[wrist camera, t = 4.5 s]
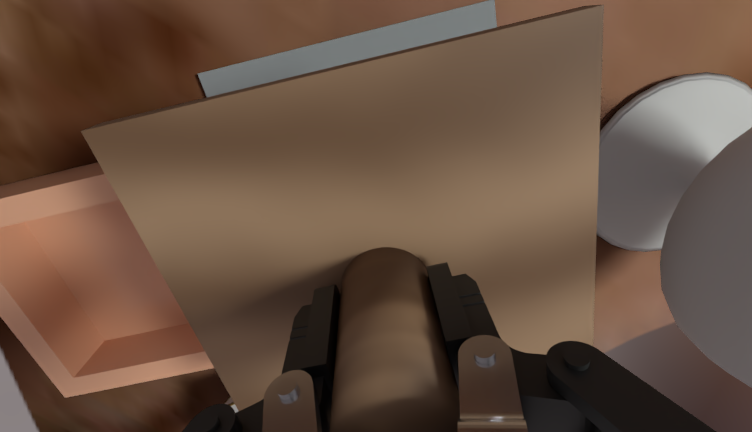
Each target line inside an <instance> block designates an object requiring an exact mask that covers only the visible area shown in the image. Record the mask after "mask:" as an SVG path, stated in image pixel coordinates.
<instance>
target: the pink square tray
mask: <svg viewBox="0 0 752 432" xmlns="http://www.w3.org/2000/svg"><path fill="white" fill-rule="evenodd" d="M0 317H1V318H2V319H3V321H4V322H5V323H6V324H7V326H8V327H9V328H10V329H11V331H12V332H13V333H14V334H15V336H16V337H17V338H18V339H19V341H20V342H21V343H22V344H23V346H24V347H25V348H26V349H27V351H28V352H29V353H30V354H31V356H32V357H33V358H34V359H35V361H36V362H37V363H38V365H39V366H40V367H41V368H42V370H43V371H44V372H45V373H46V375H47V376H48V377H49V378H50V380H51V381H52V382H53V383H54V385H55V386H56V387H57V388H58V390H59V391H60V392H61V393H62V395H63V396H64V397H65V398H66V397H71V396H76V395H81V394H86V393H91V392H96V391H101V390H106V389H111V388H116V387H121V386H126V385H131V384H136V383H141V382H146V381H151V380H156V379H161V378H166V377H171V376H176V375H181V374H186V373H191V372H196V371H201V370H206V369H211V368H214V366H213V365H212V363H211V361H210V359H209V358H208V356H207V354H206V352H205V351H204V349H203V347H202V345H201V343H200V342H199V340H198V338H197V336H196V335H195V333H194V331H193V329H192V327H191V326H190V324H189V322H188V320H187V319H186V317H185V315H184V313H183V312H182V310H181V308H180V306H179V304H178V303H177V301H176V299H175V297H174V296H173V294H172V292H171V290H170V288H169V287H168V285H167V283H166V281H165V280H164V278H163V276H162V274H161V273H160V271H159V269H158V267H157V265H156V264H155V262H154V260H153V258H152V257H151V255H150V253H149V251H148V249H147V248H146V246H145V244H144V242H143V241H142V239H141V237H140V235H139V234H138V232H137V230H136V228H135V226H134V225H133V223H132V221H131V219H130V218H129V216H128V214H127V212H126V210H125V209H124V207H123V205H122V203H121V202H120V200H119V198H118V196H117V195H116V193H115V191H114V189H113V187H112V186H111V184H110V182H109V180H108V179H107V177H106V175H105V173H104V171H103V170H102V168H101V166H100V164H99V163H98V162H97V163H92V164H88V165H84V166H80V167H76V168H72V169H67V170H63V171H59V172H55V173H51V174H47V175H43V176H38V177H34V178H30V179H26V180H22V181H18V182H13V183H9V184H5V185H1V186H0Z"/></svg>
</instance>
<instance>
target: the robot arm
mask: <svg viewBox="0 0 752 432" xmlns="http://www.w3.org/2000/svg"><path fill="white" fill-rule="evenodd" d="M426 268H427V273H428V278H429V282H430V286H431V290H432V294H433V298H434V302H435V306H436V310H437V314H438V318H439V322H440V325H441V329H442V333H443V337H444V341H445V345H446V349H447V353H448V357H449V361H450V363H451V365H452V367H453V371H454V374H455V378H456V382H457V386H458V390H459V400H460V419H458V432H716V431H714V430H713V429H712V428H710V427H709V426H707V425H706V424H704V423H703V422H702V421H700V420H699V419H697V418H696V417H694V416H693V415H692V414H690V413H689V412H687V411H686V410H684V409H683V408H681V407H680V406H679V405H677V404H676V403H674V402H673V401H671V400H670V399H669V398H667V397H666V396H664V395H662V394H661V393H660V392H658V391H657V390H656V389H654V388H653V387H651V386H650V385H648V384H647V383H646V382H644V381H642V380H641V379H640V378H638V377H637V376H635V375H634V374H633V373H631V372H630V371H628V370H627V369H625V368H624V367H622V366H621V365H620V364H618V363H617V362H615V361H614V360H612V359H611V358H609V357H608V356H607V355H605V354H604V353H602V352H601V351H599V350H598V349H596V348H595V347H593V346H591V345H589V344H586V343H583V342H579V341H563V342H560V343H557V344H555V345H553V346H552V347H551V348H550V349H549V350H548V352H547V355H545V354H532V353H525V352H521V351H518V350H515V349H513V348H511V347H510V346H508V345H507V344H506V343H505V342H504V341H503V340H502V339H501V338H500V336H499V334H498V331H497V329H496V327H495V324H494V322H493V320H492V317H491V315H490V313H489V311H488V308H487V306H486V304H485V302H484V299H483V297H482V294H481V292H480V290H479V287H478V285H477V283H476V281H475V280H473V279H472V278H471V277H470V276H468V275H467V274H461V275H456V276H452V275H451V272H450V269H449V266H448V263H447V262H445V263H440V264H435V265H430V266H426ZM339 305H340V292H339V289H338V287H337V285H331V286H326V287H321V288H316V289H315V290H314V294H313V300H312V304H310V305H305V306H302V307H301V309H300V310H299V311H298V313H297V314H296V316H295V317H294V321H293V325H292V331H291V334H290V341H289V343H288V347H287V352H286V356H285V360H284V365H283V369H282V374H281V375H280V376H278V377H277V378H276V379H275V380H273V381H272V383H271V384H270V385H269V386H268V388H267V390H266V392H265V395H264V399H262V400H261V401H259V402H257V403H255V404H253V405H251V406H249V407H247V408H245V409H243V410H241V411H238V412H236V413H235V411H234V409H233V408H232V407H231V406H230V405H227V404H216V405H213V406H210V407H208V408H206V409H204V410H203V411H201V412H200V413H199V414H197V415H196V416H195V417H194V418H193V419H192V420H191V421H190V423H189V424H188V425H187V426H186V428H185V429H184V430H183V431H182V432H329V429H330V417H331V405H332V392H333V380H334V367H335V355H336V343H337V330H338V318H339Z"/></svg>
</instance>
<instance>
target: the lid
mask: <svg viewBox="0 0 752 432" xmlns="http://www.w3.org/2000/svg"><path fill="white" fill-rule="evenodd" d="M603 14H604V5H592V6H582V7H578V8H574V9H570V10H566V11H562V12H558V13H554V14H549V15H545V16H541V17H537V18H533V19H529V20H525V21H521V22H516V23H512V24H508V25H504V26H500V27H496V28H492V29H487V30H483V31H479V32H475V33H471V34H467V35H463V36H459V37H454V38H450V39H446V40H442V41H438V42H434V43H430V44H426V45H421V46H417V47H413V48H409V49H405V50H401V51H397V52H393V53H388V54H384V55H380V56H376V57H372V58H368V59H364V60H359V61H355V62H351V63H347V64H343V65H339V66H335V67H331V68H326V69H322V70H318V71H314V72H310V73H306V74H302V75H298V76H293V77H289V78H285V79H281V80H277V81H273V82H269V83H265V84H260V85H256V86H252V87H248V88H244V89H240V90H236V91H231V92H227V93H223V94H219V95H215V96H211V97H207V98H203V99H198V100H194V101H190V102H186V103H182V104H178V105H174V106H170V107H165V108H161V109H157V110H153V111H149V112H145V113H141V114H137V115H132V116H128V117H124V118H120V119H116V120H112V121H108V122H103V123H100V124H97V125H95V126H92V127H90V128H87V129H85V130H82V131H81V132H82V134H83V136H84V138H85V140H86V141H87V143H88V145H89V147H90V148H91V150H92V152H93V154H94V156H95V157H96V159H97V161H98V163H99V164H100V166H101V168H102V170H103V171H104V173H105V175H106V177H107V179H108V180H109V182H110V184H111V186H112V187H113V189H114V191H115V193H116V195H117V196H118V198H119V200H120V202H121V203H122V205H123V207H124V209H125V210H126V212H127V214H128V216H129V218H130V219H131V221H132V223H133V225H134V226H135V228H136V230H137V232H138V234H139V235H140V237H141V239H142V241H143V242H144V244H145V246H146V248H147V249H148V251H149V253H150V255H151V257H152V258H153V260H154V262H155V264H156V265H157V267H158V269H159V271H160V273H161V274H162V276H163V278H164V280H165V281H166V283H167V285H168V287H169V288H170V290H171V292H172V294H173V296H174V297H175V299H176V301H177V303H178V304H179V306H180V308H181V310H182V312H183V313H184V315H185V317H186V319H187V320H188V322H189V324H190V326H191V327H192V329H193V331H194V333H195V335H196V336H197V338H198V340H199V342H200V343H201V345H202V347H203V349H204V351H205V352H206V354H207V356H208V358H209V359H210V361H211V363H212V365H213V366H214V368H215V370H216V372H217V374H218V375H219V377H220V379H221V381H222V382H223V384H224V386H225V388H226V390H227V391H228V393H229V395H230V397H231V398H232V400H233V402H234V404H235V405H236V407H237V409H238V411H241V410H243V409H245V408H247V407H249V406H251V405H253V404H255V403H257V402H259V401H261V400H262V399H264V395H265V392H266V390H267V388H268V386H269V385H270V384H271V383H272V381H273V380H275V379H276V378H277V377H278V376H280V375H281V374H282V369H283V365H284V360H285V356H286V352H287V347H288V343H289V341H290V334H291V331H292V325H293V321H294V317H295V316H296V314H297V313H298V311H299V310H300V309H301V307H302V306H305V305H310V304H312V300H313V294H314V290H315V289H316V288H321V287H326V286H331V285H337V287H338V289H339V292H340V305H339V318H338V330H337V343H336V355H335V367H334V380H333V392H332V405H331V417H330V429H329V432H458V419H460V400H459V390H458V386H457V382H456V378H455V374H454V371H453V367H452V365H451V363H450V361H449V357H448V353H447V349H446V345H445V341H444V337H443V333H442V329H441V325H440V322H439V318H438V314H437V310H436V306H435V302H434V298H433V294H432V290H431V286H430V282H429V278H428V273H427V268H426V266H430V265H435V264H440V263H445V262H447V263H448V266H449V269H450V272H451V275H452V276H456V275H461V274H467V275H468V276H470V277H471V278H472V279H473V280H475V281H476V283H477V285H478V287H479V290H480V292H481V294H482V297H483V299H484V302H485V304H486V306H487V308H488V311H489V313H490V315H491V317H492V320H493V322H494V324H495V327H496V329H497V331H498V334H499V336H500V338H501V339H502V340H503V341H504V342H505V343H506V344H507V345H508V346H510V347H511V348H513V349H515V350H518V351H521V352H525V353H532V354H545V355H547V352H548V350H549V349H550V348H551V347H552V346H553V345H555V344H557V343H560V342H563V341H579V342H583V343H586V344H589V345H591V346H593V330H594V299H595V267H596V236H597V204H598V172H599V141H600V109H601V77H602V46H603Z"/></svg>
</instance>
